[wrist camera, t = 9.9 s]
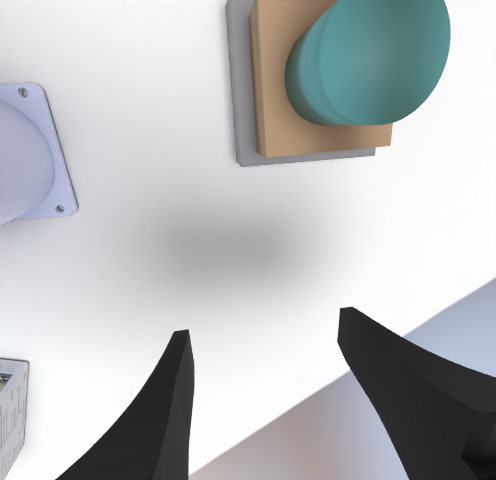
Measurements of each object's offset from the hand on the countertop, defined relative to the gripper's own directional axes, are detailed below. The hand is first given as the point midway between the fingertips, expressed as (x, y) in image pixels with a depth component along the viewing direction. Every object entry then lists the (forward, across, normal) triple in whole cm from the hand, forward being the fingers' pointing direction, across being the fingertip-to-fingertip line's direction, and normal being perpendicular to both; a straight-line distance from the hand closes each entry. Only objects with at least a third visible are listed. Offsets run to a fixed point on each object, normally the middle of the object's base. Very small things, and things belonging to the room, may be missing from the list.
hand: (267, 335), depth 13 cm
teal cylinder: (+5, -4, -11) cm, 13 cm away
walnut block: (+8, -5, -11) cm, 14 cm away
